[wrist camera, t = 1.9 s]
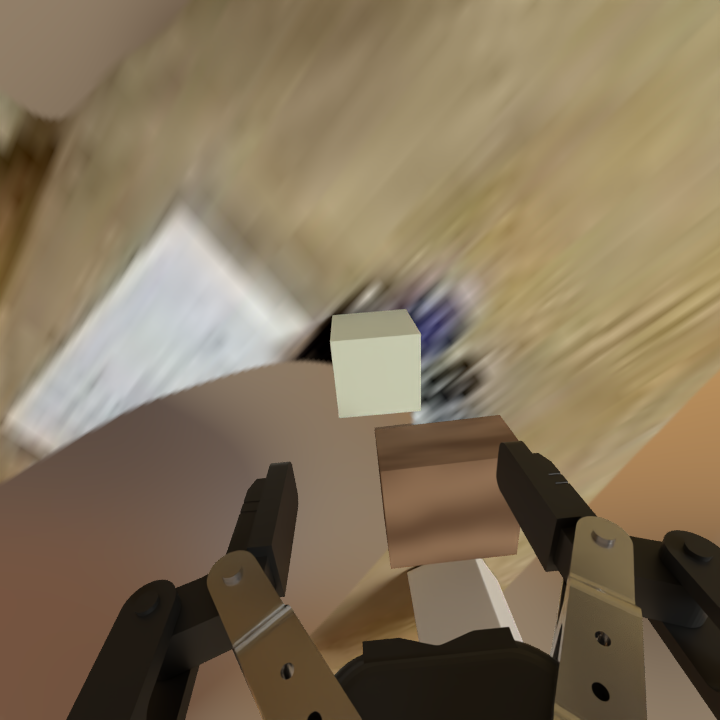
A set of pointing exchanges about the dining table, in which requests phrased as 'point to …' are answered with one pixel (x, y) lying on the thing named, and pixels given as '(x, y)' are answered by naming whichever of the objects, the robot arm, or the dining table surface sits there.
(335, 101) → the dining table surface
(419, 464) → the walnut block
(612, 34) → the dining table surface
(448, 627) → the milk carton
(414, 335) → the sage cube
